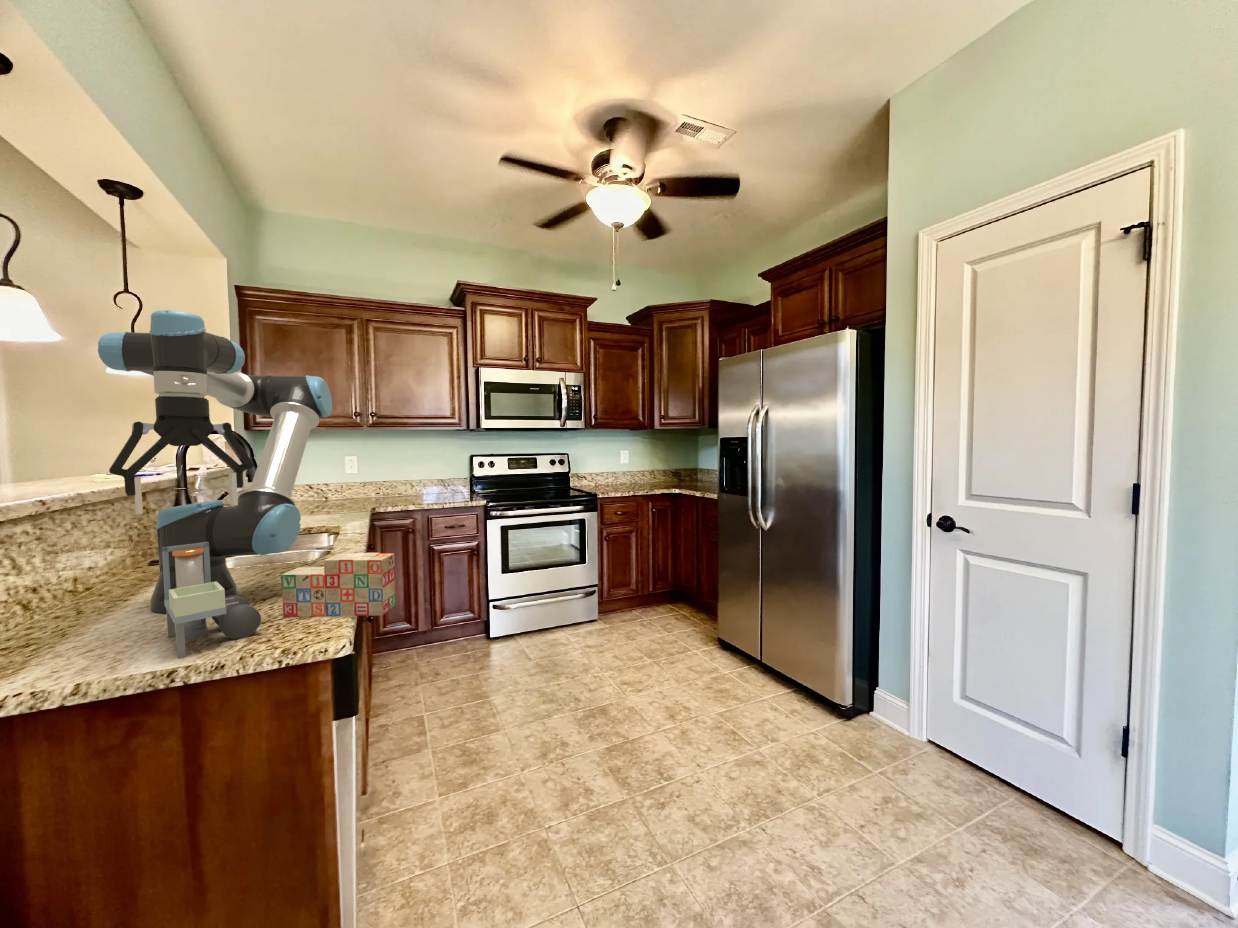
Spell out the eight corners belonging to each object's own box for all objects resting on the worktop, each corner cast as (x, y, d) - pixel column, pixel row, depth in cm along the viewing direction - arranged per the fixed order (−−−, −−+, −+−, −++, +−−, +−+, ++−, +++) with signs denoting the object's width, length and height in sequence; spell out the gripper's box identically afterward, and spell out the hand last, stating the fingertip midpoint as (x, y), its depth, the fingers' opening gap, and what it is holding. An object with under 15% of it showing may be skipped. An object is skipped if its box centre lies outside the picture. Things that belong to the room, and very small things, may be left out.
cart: (166, 635, 93) (161, 547, 93) (246, 617, 103) (242, 537, 102) (176, 658, 83) (170, 559, 83) (264, 636, 93) (260, 547, 92)
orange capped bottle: (175, 636, 93) (170, 549, 92) (206, 629, 97) (202, 545, 96) (179, 642, 90) (173, 553, 89) (211, 635, 94) (206, 549, 93)
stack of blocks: (281, 617, 103) (279, 560, 102) (300, 607, 109) (298, 553, 109) (383, 615, 103) (381, 558, 103) (396, 605, 110) (394, 552, 109)
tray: (169, 607, 88) (168, 589, 88) (217, 598, 93) (216, 581, 93) (175, 617, 83) (173, 598, 83) (225, 607, 88) (224, 589, 88)
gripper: (84, 391, 79) (93, 519, 80) (267, 398, 98) (273, 503, 99) (82, 393, 84) (91, 515, 85) (257, 400, 103) (263, 500, 104)
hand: (189, 509), depth 92 cm, fingers open, 13 cm apart
